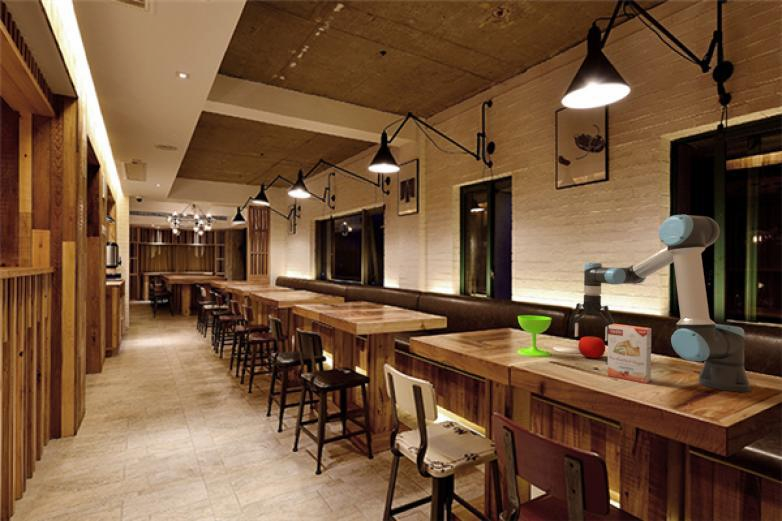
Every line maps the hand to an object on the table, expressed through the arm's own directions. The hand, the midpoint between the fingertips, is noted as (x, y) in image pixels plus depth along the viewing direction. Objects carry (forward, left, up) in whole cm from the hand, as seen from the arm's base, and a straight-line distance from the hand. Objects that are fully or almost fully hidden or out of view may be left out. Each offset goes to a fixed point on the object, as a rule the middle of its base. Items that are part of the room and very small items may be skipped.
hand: (591, 338), depth 199 cm
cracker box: (-29, -21, -9) cm, 37 cm away
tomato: (0, 0, -9) cm, 9 cm away
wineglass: (-11, +24, -9) cm, 28 cm away
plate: (+9, +13, -9) cm, 18 cm away
